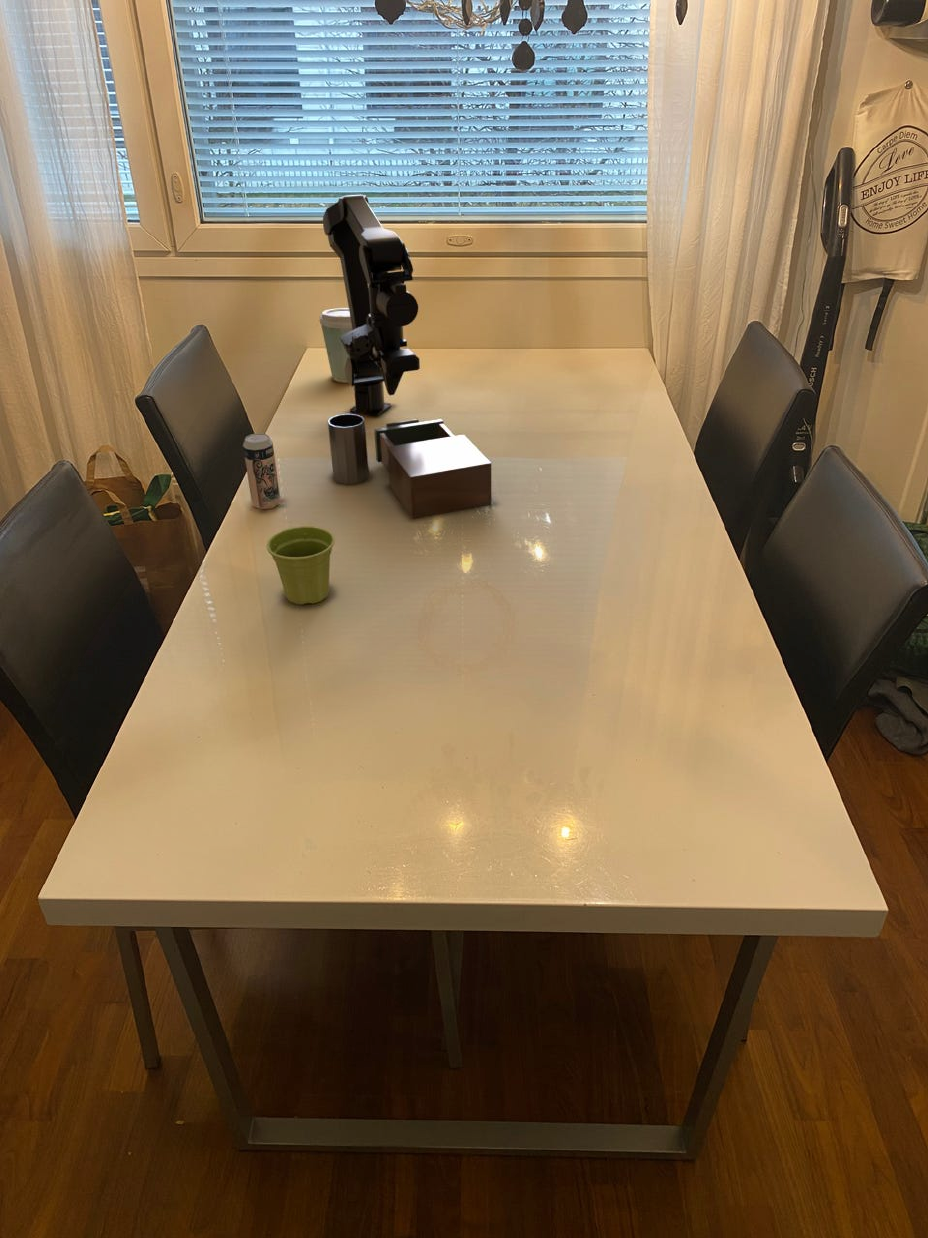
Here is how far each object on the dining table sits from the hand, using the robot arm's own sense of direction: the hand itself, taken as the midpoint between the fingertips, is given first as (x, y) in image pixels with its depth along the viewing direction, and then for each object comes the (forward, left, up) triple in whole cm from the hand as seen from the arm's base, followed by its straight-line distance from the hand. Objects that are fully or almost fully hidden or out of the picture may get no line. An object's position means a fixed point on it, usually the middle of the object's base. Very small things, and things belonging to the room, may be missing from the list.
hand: (391, 394), depth 181 cm
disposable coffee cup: (-27, -26, -9) cm, 38 cm away
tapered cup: (+18, +1, -9) cm, 20 cm away
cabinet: (+19, +19, -9) cm, 28 cm away
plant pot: (+55, +15, -9) cm, 58 cm away
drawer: (+10, +10, -8) cm, 16 cm away
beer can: (+33, -7, -9) cm, 35 cm away
